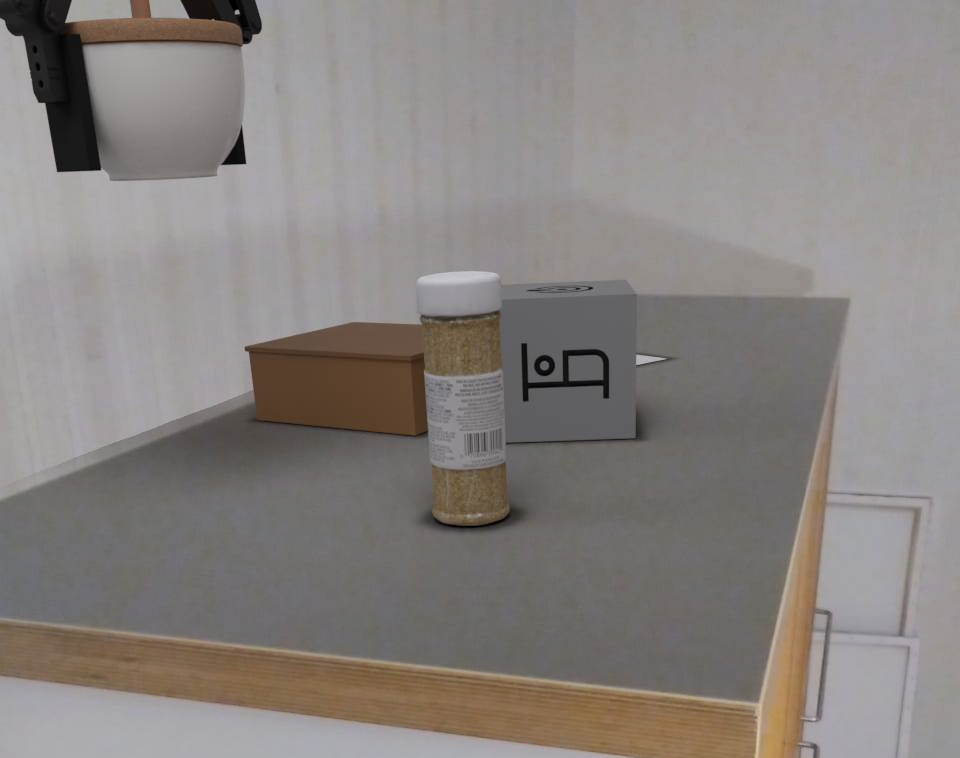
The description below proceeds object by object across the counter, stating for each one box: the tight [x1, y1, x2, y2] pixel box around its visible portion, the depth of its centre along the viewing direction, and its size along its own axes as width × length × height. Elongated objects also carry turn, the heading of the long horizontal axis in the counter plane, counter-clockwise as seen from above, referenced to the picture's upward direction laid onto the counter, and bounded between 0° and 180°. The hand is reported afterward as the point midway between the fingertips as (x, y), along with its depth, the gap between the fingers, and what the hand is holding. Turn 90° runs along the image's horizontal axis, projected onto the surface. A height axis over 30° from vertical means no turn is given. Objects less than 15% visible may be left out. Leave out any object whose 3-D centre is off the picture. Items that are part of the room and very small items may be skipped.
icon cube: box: [499, 279, 638, 444], centre depth 84 cm, size 10×10×10 cm
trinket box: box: [60, 0, 246, 182], centre depth 63 cm, size 11×11×9 cm
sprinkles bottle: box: [415, 270, 511, 527], centre depth 62 cm, size 5×5×13 cm
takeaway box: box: [244, 321, 428, 437], centre depth 93 cm, size 16×14×6 cm
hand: (157, 168), depth 65 cm, fingers closed on trinket box, 11 cm apart
